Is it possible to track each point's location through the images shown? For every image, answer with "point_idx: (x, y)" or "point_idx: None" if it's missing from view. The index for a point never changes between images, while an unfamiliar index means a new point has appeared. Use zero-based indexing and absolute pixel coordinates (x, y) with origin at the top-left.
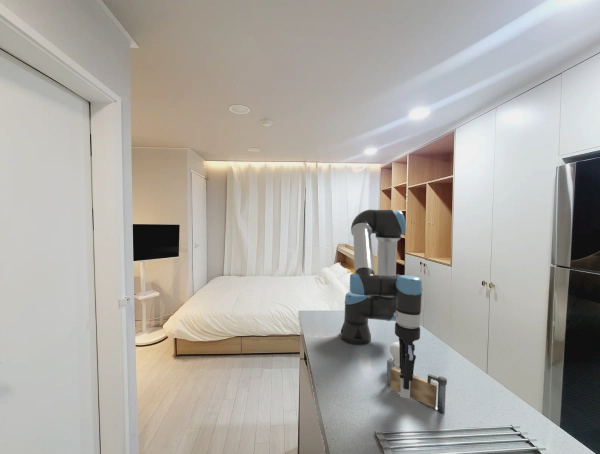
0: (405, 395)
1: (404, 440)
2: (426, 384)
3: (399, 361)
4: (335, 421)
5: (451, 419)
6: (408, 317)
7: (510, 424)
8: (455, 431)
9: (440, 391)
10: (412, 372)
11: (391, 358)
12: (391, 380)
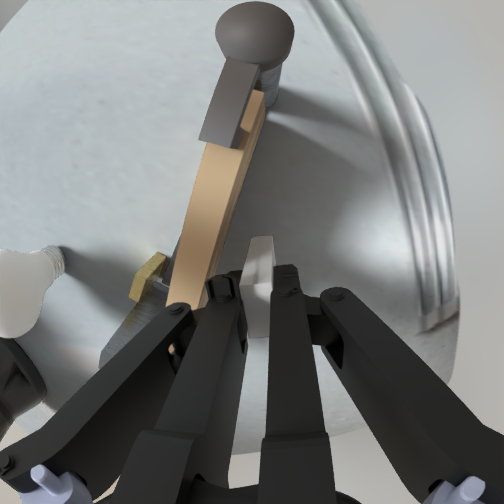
0: (274, 259)
1: (441, 259)
2: (244, 156)
3: (43, 275)
4: None
5: (295, 64)
6: None
7: None
8: (359, 71)
9: (279, 73)
10: (393, 339)
11: (99, 363)
12: None
